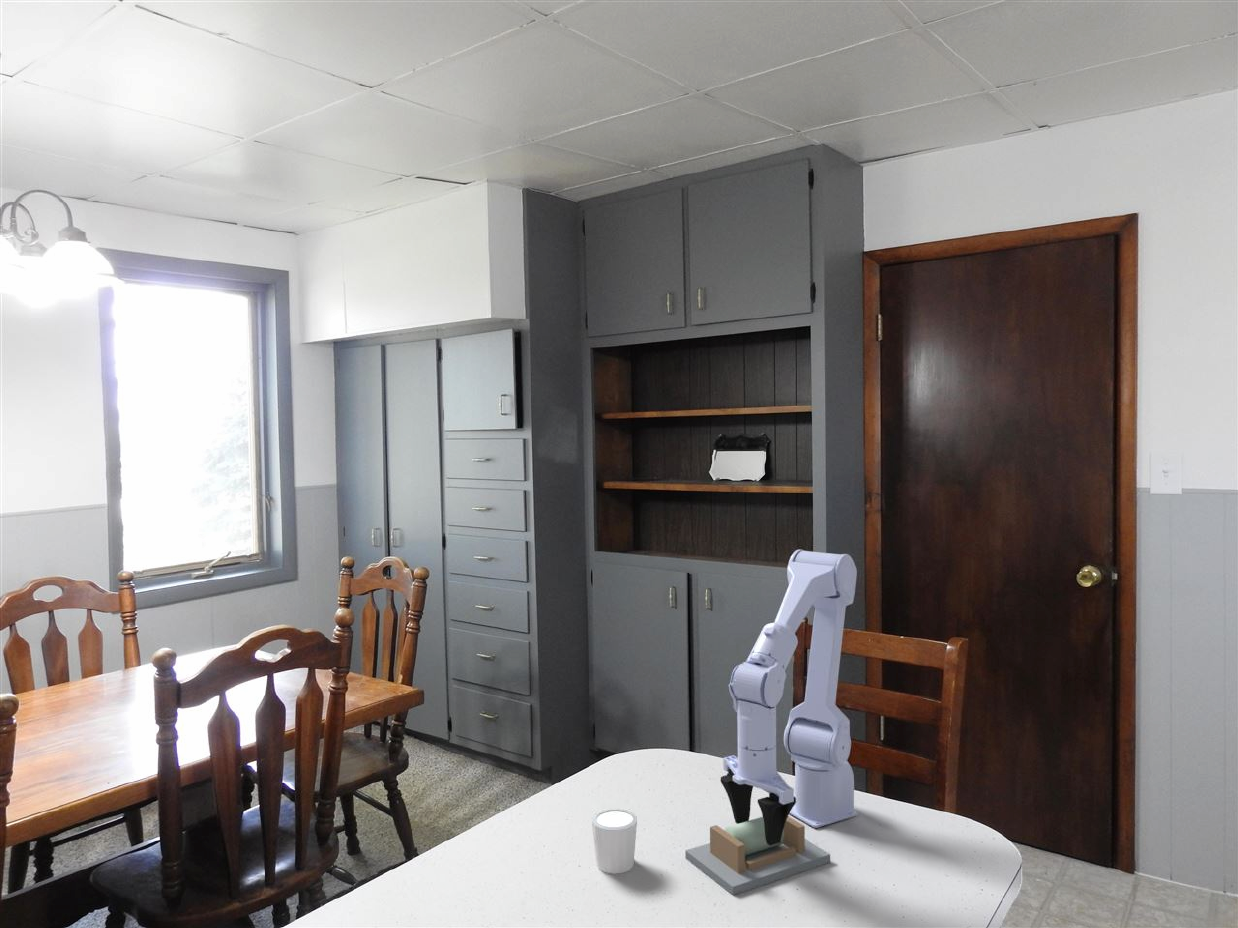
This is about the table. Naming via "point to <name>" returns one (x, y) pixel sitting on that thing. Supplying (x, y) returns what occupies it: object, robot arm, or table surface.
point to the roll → (752, 835)
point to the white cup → (614, 840)
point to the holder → (755, 858)
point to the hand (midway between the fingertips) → (757, 832)
